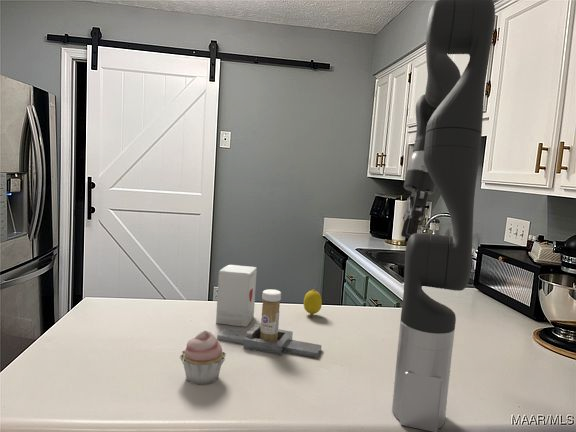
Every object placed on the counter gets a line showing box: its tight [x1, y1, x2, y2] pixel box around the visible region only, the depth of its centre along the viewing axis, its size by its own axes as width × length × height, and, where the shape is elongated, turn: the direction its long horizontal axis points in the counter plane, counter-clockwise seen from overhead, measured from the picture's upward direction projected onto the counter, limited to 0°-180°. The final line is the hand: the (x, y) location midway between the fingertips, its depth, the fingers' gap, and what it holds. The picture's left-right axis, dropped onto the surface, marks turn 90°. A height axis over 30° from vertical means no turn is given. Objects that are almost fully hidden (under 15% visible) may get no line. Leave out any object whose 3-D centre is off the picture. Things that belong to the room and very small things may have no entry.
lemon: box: [303, 289, 323, 316], centre depth 125 cm, size 6×6×8 cm
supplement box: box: [215, 264, 258, 328], centre depth 117 cm, size 9×9×15 cm
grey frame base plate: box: [216, 323, 322, 359], centre depth 102 cm, size 10×26×3 cm, turn 74°
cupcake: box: [179, 330, 227, 385], centre depth 84 cm, size 9×9×10 cm
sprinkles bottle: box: [260, 289, 282, 342], centre depth 102 cm, size 5×5×13 cm
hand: (408, 236), depth 101 cm, fingers open, 8 cm apart
